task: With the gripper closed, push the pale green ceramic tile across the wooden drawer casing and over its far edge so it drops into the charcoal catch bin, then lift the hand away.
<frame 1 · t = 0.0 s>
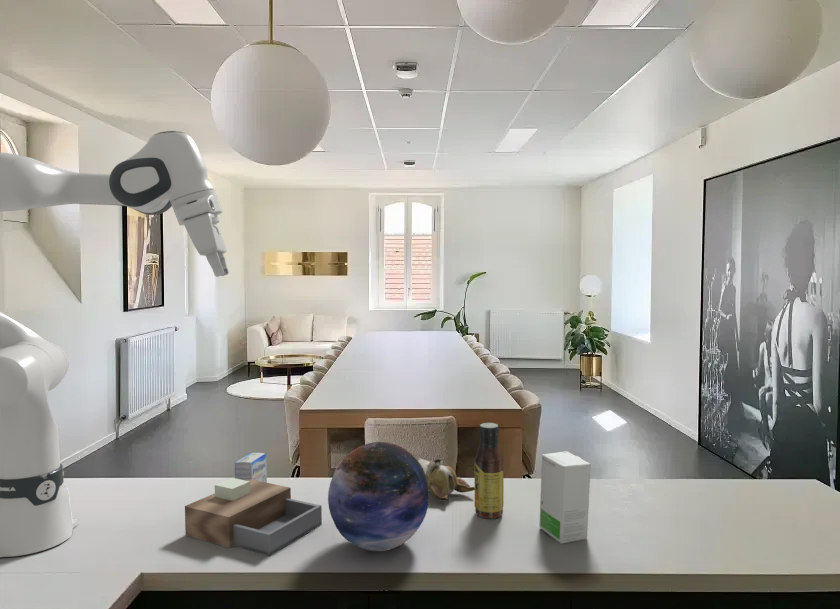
hand: (222, 275, 127), 52 cm above the counter, fingers open, 8 cm apart
decorative sphere: (379, 547, 120), on the counter
skincare box: (564, 534, 125), on the counter
tile: (232, 494, 130), point 6 cm above the counter, touching wooden drawer casing
ceramic sculpture: (439, 495, 147), on the counter
sauce bottle: (488, 515, 135), on the counter
wooden drawer casing: (240, 524, 130), on the counter
medicine box: (251, 493, 148), on the counter
catch bin: (279, 534, 125), on the counter
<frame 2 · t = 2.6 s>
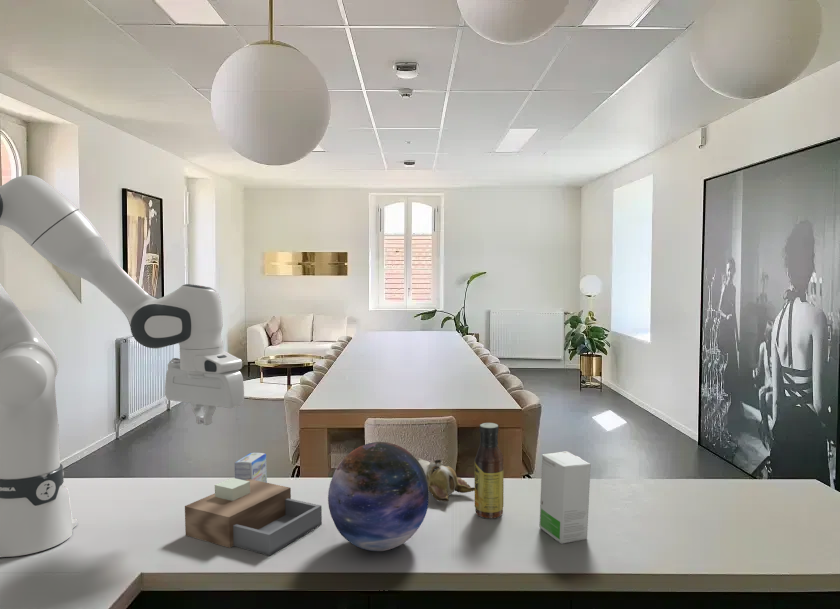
hand: (204, 424, 133), 20 cm above the counter, fingers closed
nothing on the counter moved.
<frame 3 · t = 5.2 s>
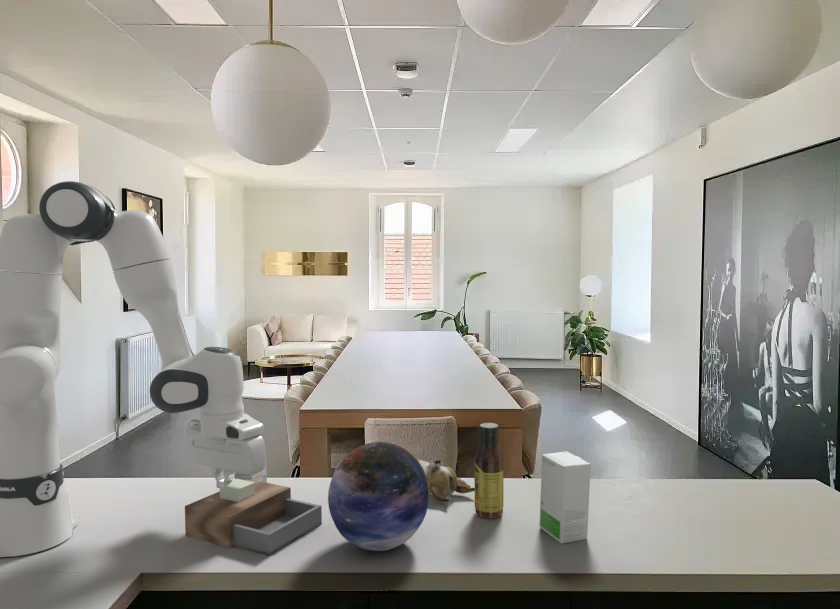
hand: (224, 488, 132), 7 cm above the counter, fingers closed
tile: (237, 495, 130), point 6 cm above the counter, touching gripper, wooden drawer casing
everything else where it was.
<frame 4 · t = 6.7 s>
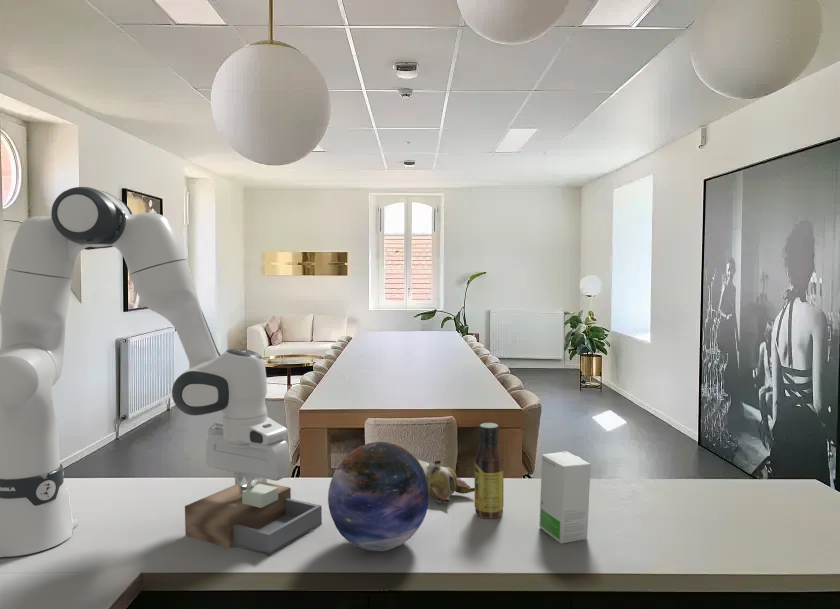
hand: (246, 493, 129), 7 cm above the counter, fingers closed
tile: (260, 501, 127), point 6 cm above the counter, touching gripper, wooden drawer casing
everything else where it was.
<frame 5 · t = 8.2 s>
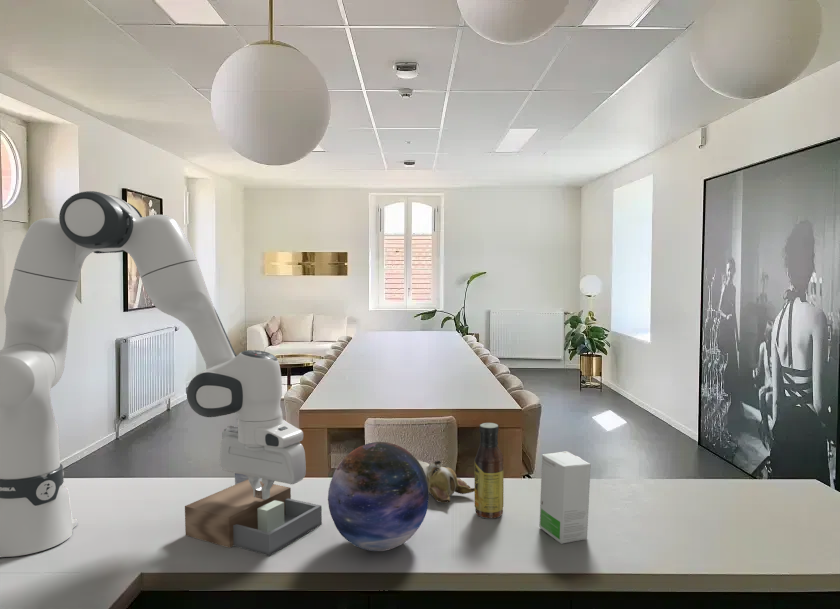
hand: (261, 497, 127), 7 cm above the counter, fingers closed
tile: (266, 516, 126), point 3 cm above the counter, tilted 90°, touching catch bin
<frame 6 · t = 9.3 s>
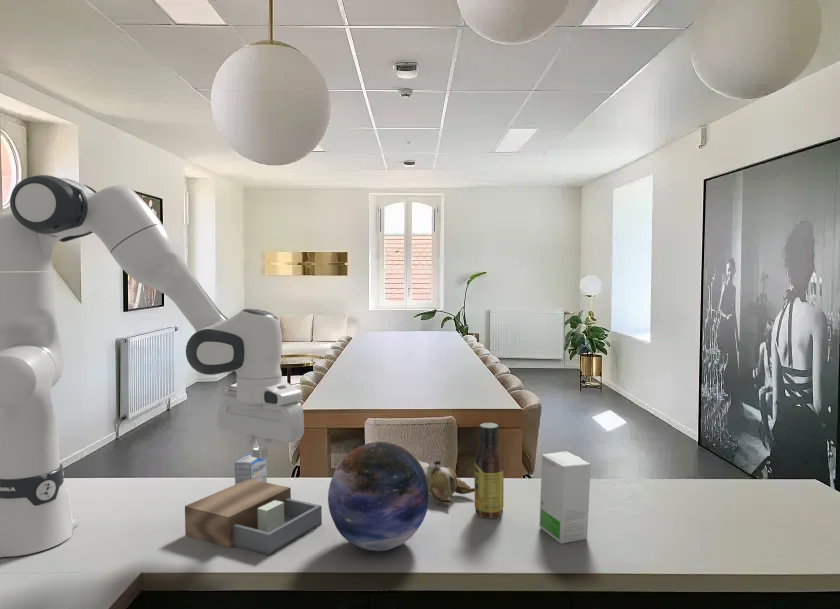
hand: (259, 457, 126), 15 cm above the counter, fingers closed
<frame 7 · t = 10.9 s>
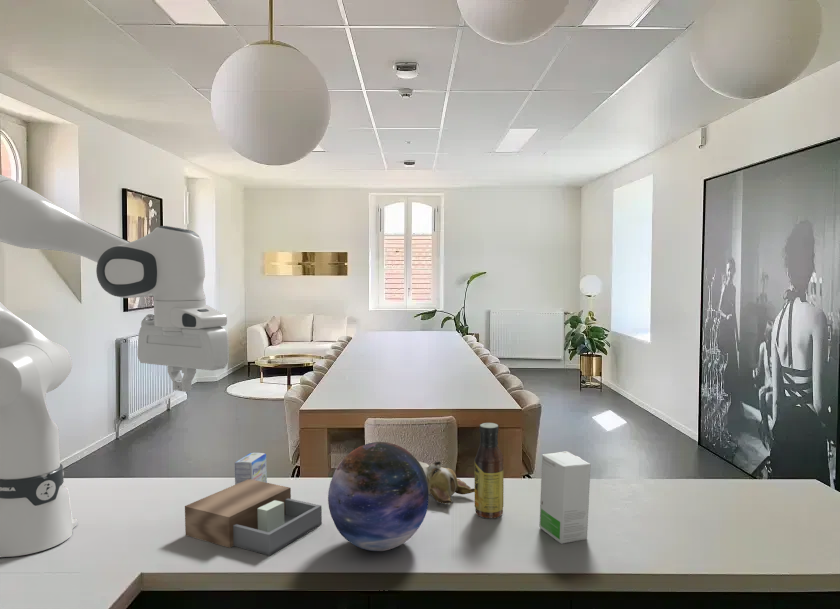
hand: (182, 390, 114), 31 cm above the counter, fingers closed
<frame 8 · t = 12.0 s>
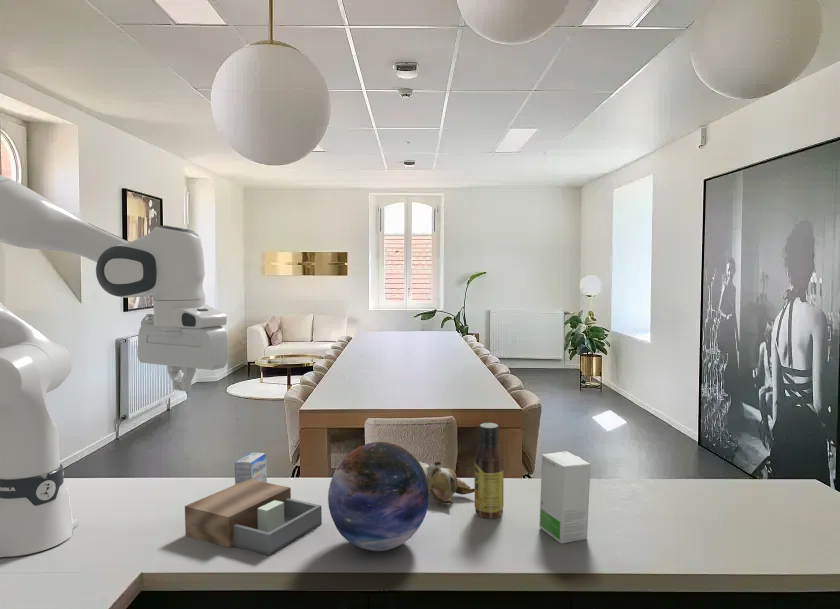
hand: (182, 390, 114), 31 cm above the counter, fingers closed
at the end: tile inside the target area (3.4 cm from its centre), point 3.1 cm above the counter; tile moved 9.5 cm from its start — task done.
